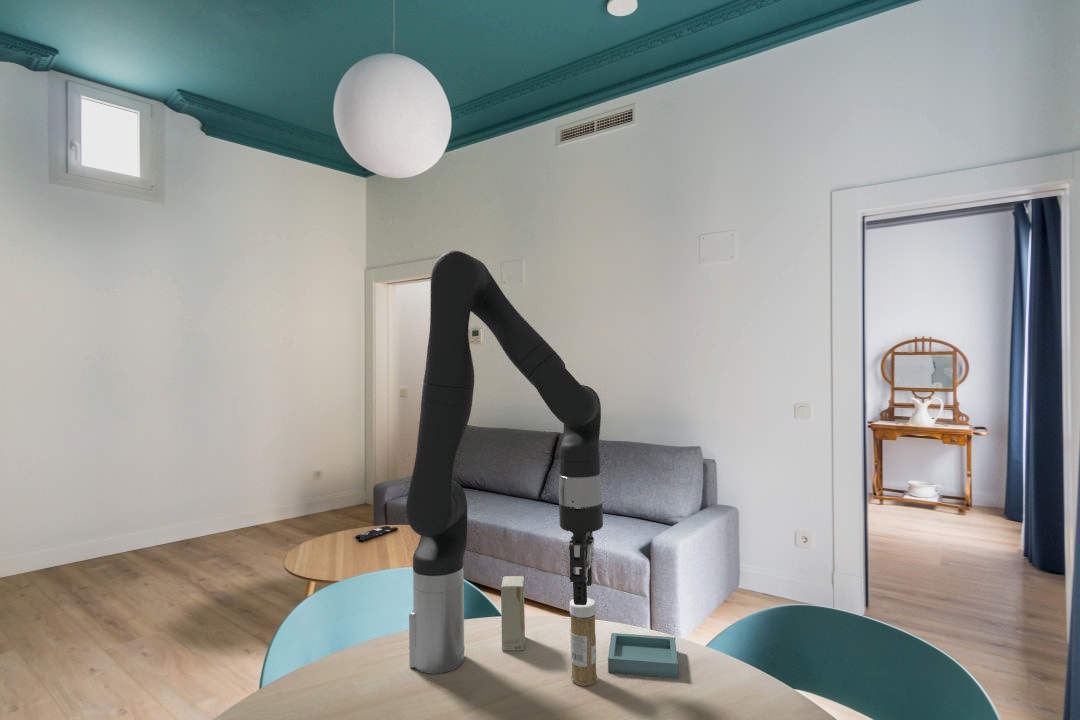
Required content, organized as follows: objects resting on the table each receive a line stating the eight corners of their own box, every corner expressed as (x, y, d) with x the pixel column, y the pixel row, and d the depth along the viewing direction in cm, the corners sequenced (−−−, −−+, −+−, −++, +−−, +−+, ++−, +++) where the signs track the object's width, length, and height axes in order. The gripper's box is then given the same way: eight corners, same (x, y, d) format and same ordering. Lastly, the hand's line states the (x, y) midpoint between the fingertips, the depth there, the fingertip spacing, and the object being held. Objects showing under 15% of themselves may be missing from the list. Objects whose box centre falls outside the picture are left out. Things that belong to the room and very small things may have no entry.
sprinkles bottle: (602, 681, 98) (601, 602, 99) (581, 690, 96) (580, 608, 96) (585, 670, 102) (584, 594, 102) (565, 678, 100) (564, 600, 100)
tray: (608, 672, 101) (608, 658, 101) (611, 645, 111) (611, 632, 111) (678, 678, 99) (677, 663, 99) (675, 650, 109) (675, 637, 109)
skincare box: (524, 651, 109) (523, 586, 110) (501, 651, 109) (500, 587, 110) (525, 635, 116) (524, 574, 116) (503, 636, 116) (503, 575, 116)
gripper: (564, 491, 107) (567, 578, 107) (552, 509, 93) (555, 610, 93) (605, 491, 106) (607, 580, 106) (598, 510, 92) (601, 612, 92)
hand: (583, 594), depth 99 cm, fingers open, 8 cm apart
